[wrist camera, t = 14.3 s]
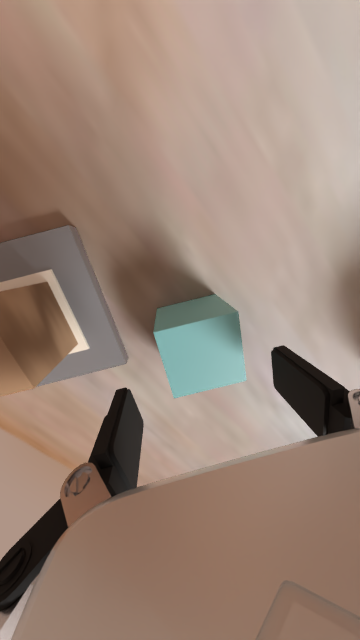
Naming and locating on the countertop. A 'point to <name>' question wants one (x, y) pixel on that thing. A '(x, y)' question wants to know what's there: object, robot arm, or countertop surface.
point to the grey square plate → (66, 297)
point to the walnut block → (31, 337)
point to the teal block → (200, 345)
